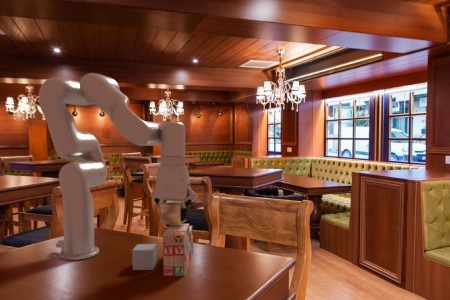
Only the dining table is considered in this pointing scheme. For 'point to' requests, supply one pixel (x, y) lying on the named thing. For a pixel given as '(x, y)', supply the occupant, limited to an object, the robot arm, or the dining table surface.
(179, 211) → the maple cube
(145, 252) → the bluegrey block
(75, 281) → the dining table surface
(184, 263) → the stack of blocks
